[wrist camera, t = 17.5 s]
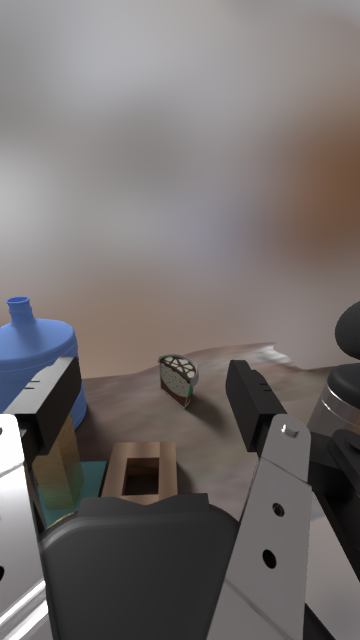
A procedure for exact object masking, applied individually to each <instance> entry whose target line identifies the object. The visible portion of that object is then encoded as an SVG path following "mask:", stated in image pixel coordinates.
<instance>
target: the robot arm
mask: <svg viewBox="0 0 360 640" xmlns="http://www.w3.org/2000/svg"><path fill="white" fill-rule="evenodd" d="M335 338H336V342H337V344H338V346H339V347H340V349H341V350H342V351H343V352H344V353H346V354H348V355H349V356H351V357H354V358H356V359H359V360H360V301H359V302H357V303H355V304H353V305H352V306H351V307H349V308H348V309H347V310H346V311H345V312H344V313H343V314H342V316H341V317H340V319H339V320H338V322H337V325H336V328H335ZM81 385H82V380H81V374H80V367H79V362H78V358H77V357H75V356H60V357H59V358H58V359H57V360H56V362H55V363H54V364H53V365H52V366H47V367H46V368H44V369H43V370H41V371H39V372H38V373H37V374H36V375H35V376H34V377H33V379H32V380H31V382H29V383H28V384H27V386H26V387H25V389H23V390H22V391H21V393H20V394H19V395H18V396H17V397H16V398H15V400H14V401H13V402H12V403H11V404H10V405H9V406H8V408H7V409H6V410H5V411H4V412H3V413H2V415H0V640H335V639H334V637H333V636H332V635H331V634H330V632H329V631H328V630H327V629H326V627H325V626H324V625H323V624H322V622H321V621H320V620H319V619H318V618H317V616H316V615H315V614H314V613H313V611H312V610H311V609H310V608H309V607H308V605H307V604H306V603H305V591H306V590H305V589H306V573H307V559H308V544H309V529H310V514H311V498H312V491H313V492H314V493H315V495H316V497H317V499H318V501H319V503H320V505H321V507H322V509H323V511H324V513H325V515H326V517H327V519H328V521H329V523H330V524H331V527H332V528H333V531H334V532H335V534H336V536H337V538H338V540H339V542H340V544H341V546H342V548H343V550H344V552H345V554H346V556H347V558H348V560H349V562H350V564H351V566H352V568H353V570H354V572H355V574H356V576H357V578H358V580H359V582H360V498H359V497H358V495H357V494H356V493H357V492H358V494H359V495H360V363H354V364H344V365H339V366H337V367H335V368H333V370H332V371H331V372H330V375H329V377H328V379H327V381H326V384H325V386H324V388H323V390H322V392H321V395H320V397H319V399H318V402H317V404H316V406H315V408H314V410H313V412H312V415H311V417H310V419H309V421H308V423H307V426H306V425H305V424H304V423H303V422H301V421H300V420H298V419H297V418H295V417H293V416H290V415H288V414H287V412H286V411H285V410H284V408H283V406H282V405H281V403H280V402H279V400H278V398H277V397H276V395H275V394H274V392H273V391H272V389H271V388H270V386H269V385H268V383H267V381H266V380H265V378H264V377H263V376H262V375H261V374H260V373H259V372H257V371H256V370H251V368H250V367H249V365H248V363H247V362H246V361H245V360H231V361H230V364H229V369H228V374H227V379H226V394H227V397H228V399H229V402H230V405H231V408H232V410H233V413H234V416H235V419H236V421H237V424H238V427H239V430H240V432H241V435H242V438H243V441H244V443H245V446H246V449H247V452H257V455H258V457H259V459H258V462H257V465H256V469H255V472H254V475H253V478H252V481H251V484H250V488H249V491H248V494H247V497H246V500H245V503H244V506H243V509H242V512H241V515H240V518H239V521H237V520H236V519H235V518H234V517H232V516H231V515H230V514H229V513H227V512H226V511H224V510H222V509H221V508H218V507H216V506H214V505H211V504H209V501H208V494H207V493H196V494H177V495H174V496H171V497H168V498H166V499H163V500H160V501H157V502H154V503H152V504H149V505H142V504H138V503H135V502H131V501H128V500H124V499H121V498H117V497H89V498H82V500H81V503H80V507H79V510H76V511H74V512H72V513H69V514H67V515H65V516H64V517H62V518H60V519H59V520H57V521H56V522H54V523H53V524H52V525H50V526H49V527H47V524H46V520H45V517H44V513H43V509H42V505H41V501H40V496H39V492H38V487H37V483H36V478H35V474H34V469H33V466H32V463H33V462H34V460H35V458H36V456H44V455H48V454H49V452H50V450H51V448H52V446H53V444H54V442H55V440H56V438H57V436H58V434H59V432H60V431H61V429H62V427H63V425H64V423H65V421H66V419H67V417H68V415H69V413H70V411H71V409H72V407H73V405H74V403H75V401H76V399H77V397H78V395H79V393H80V390H81Z"/></svg>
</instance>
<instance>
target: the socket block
mask: <svg viewBox="0 0 360 640" xmlns="http://www.w3.org/2000/svg"><path fill="white" fill-rule="evenodd" d="M144 475H159V482H158V494H157V495H129V496H125V495H126V488H127V481H128V476H144ZM177 494H178V492H177V471H176V449H175V442H116V443H114V444H113V449H112V453H111V457H110V461H109V466H108V470H107V474H106V479H105V483H104V487H103V491H102V496H101V497H117V498H121V499H124V500H128V501H131V502H135V503H138V504H142V505H149V504H152V503H154V502H157V501H160V500H163V499H166V498H168V497H171V496H174V495H177Z"/></svg>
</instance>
